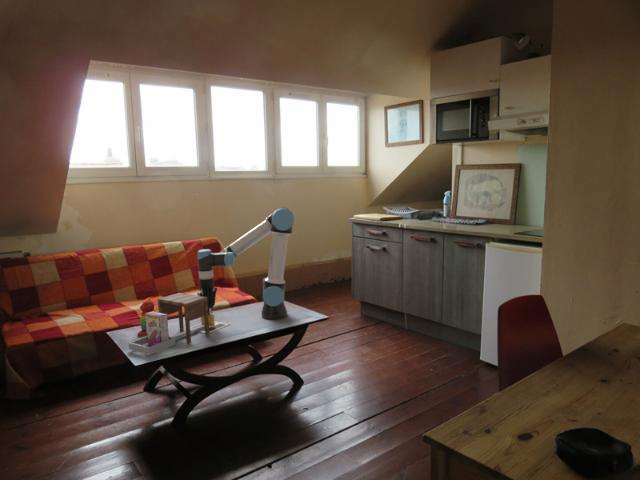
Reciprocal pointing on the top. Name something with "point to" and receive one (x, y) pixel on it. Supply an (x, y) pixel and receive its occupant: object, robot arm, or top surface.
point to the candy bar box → (156, 328)
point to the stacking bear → (145, 307)
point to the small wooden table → (186, 310)
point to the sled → (139, 347)
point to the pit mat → (211, 329)
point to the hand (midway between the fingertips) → (209, 319)
